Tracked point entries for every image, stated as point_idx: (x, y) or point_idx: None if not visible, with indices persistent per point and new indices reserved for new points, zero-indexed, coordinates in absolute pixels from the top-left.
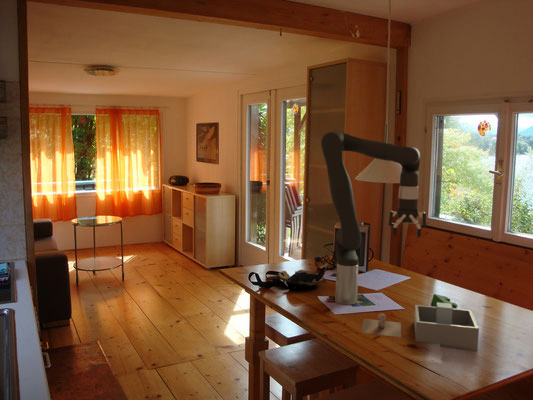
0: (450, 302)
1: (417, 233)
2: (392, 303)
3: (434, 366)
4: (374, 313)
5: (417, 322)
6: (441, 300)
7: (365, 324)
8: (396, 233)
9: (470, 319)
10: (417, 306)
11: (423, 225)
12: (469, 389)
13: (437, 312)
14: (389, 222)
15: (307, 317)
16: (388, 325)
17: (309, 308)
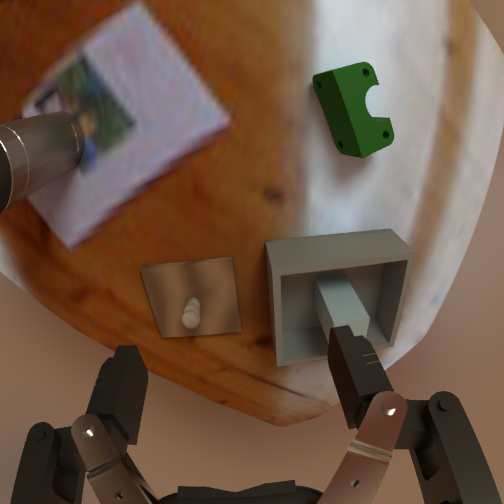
0: (378, 128)
1: (341, 392)
2: (186, 89)
3: (298, 382)
4: (150, 202)
5: (278, 365)
6: (354, 133)
7: (155, 299)
8: (142, 400)
9: (398, 287)
10: (279, 280)
11: (417, 448)
12: (332, 405)
13: (327, 340)
14: (62, 481)
15: (38, 288)
16: (205, 287)
17: (14, 238)
